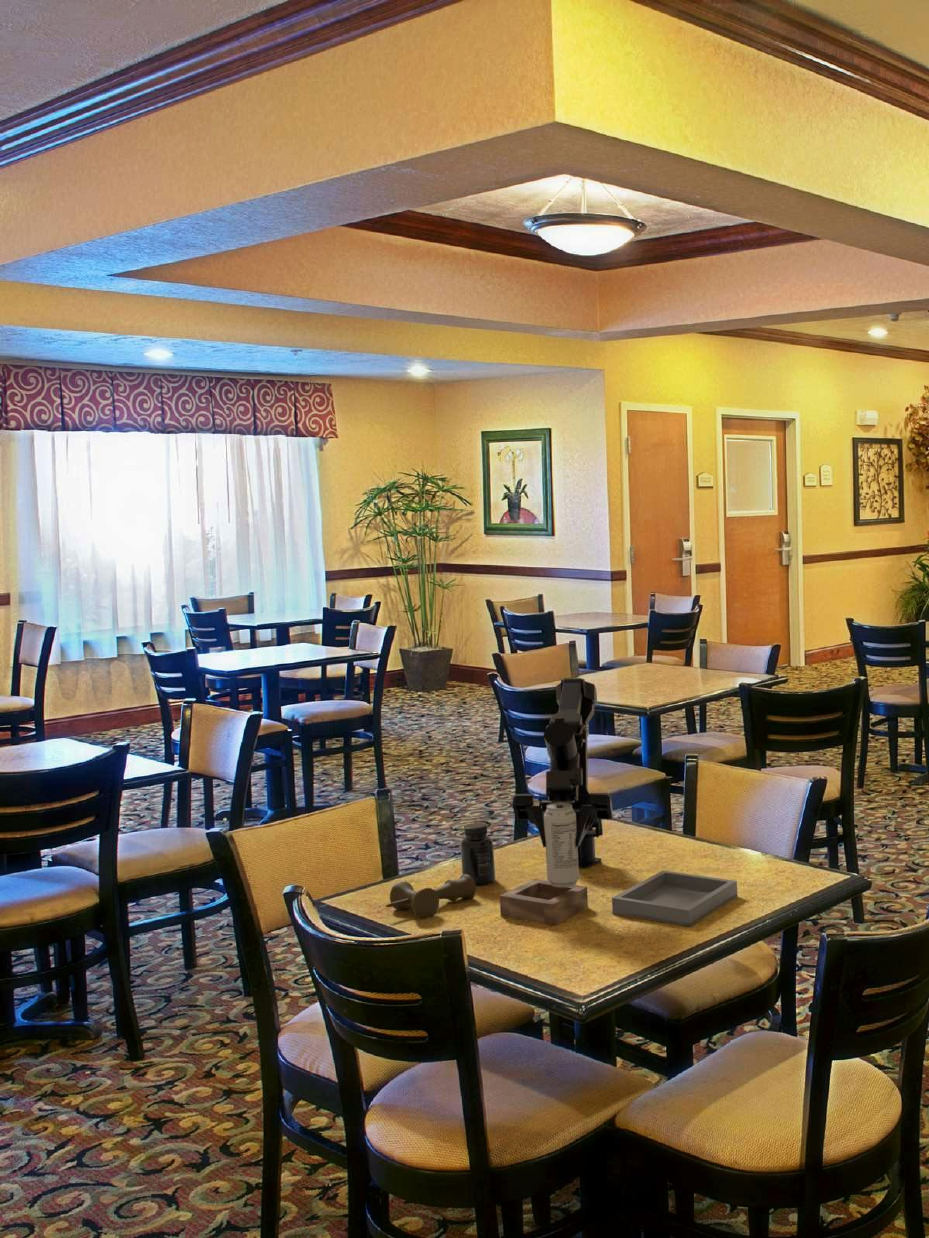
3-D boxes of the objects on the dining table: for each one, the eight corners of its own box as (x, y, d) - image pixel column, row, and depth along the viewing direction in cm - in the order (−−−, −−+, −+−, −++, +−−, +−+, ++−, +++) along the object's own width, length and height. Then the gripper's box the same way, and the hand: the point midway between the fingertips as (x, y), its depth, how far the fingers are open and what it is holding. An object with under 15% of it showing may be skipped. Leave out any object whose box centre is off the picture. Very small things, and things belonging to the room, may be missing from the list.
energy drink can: (575, 877, 239) (571, 800, 237) (582, 886, 233) (578, 807, 232) (544, 880, 238) (540, 803, 237) (551, 889, 232) (547, 810, 231)
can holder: (536, 898, 245) (535, 878, 245) (588, 907, 238) (587, 886, 238) (500, 915, 236) (499, 895, 235) (553, 925, 229) (552, 904, 228)
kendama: (485, 905, 245) (400, 926, 233) (457, 896, 253) (373, 916, 241) (484, 875, 245) (398, 895, 233) (455, 867, 252) (371, 886, 241)
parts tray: (663, 884, 249) (662, 870, 249) (737, 896, 240) (736, 880, 239) (612, 913, 234) (611, 897, 233) (689, 926, 224) (688, 910, 224)
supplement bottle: (496, 876, 262) (493, 820, 261) (494, 886, 255) (491, 828, 254) (464, 877, 263) (461, 821, 262) (461, 887, 256) (457, 829, 255)
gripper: (510, 753, 239) (505, 824, 229) (608, 751, 235) (606, 823, 225) (519, 783, 247) (513, 854, 237) (613, 782, 244) (611, 853, 234)
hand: (560, 845), depth 233 cm, fingers closed on energy drink can, 6 cm apart
